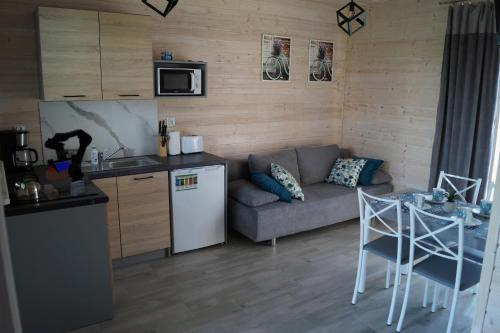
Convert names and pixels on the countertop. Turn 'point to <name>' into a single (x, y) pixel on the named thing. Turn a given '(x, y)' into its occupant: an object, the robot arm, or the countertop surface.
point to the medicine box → (77, 188)
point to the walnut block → (53, 194)
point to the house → (62, 171)
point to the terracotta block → (47, 186)
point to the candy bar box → (71, 153)
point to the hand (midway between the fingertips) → (65, 171)
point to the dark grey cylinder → (48, 189)
